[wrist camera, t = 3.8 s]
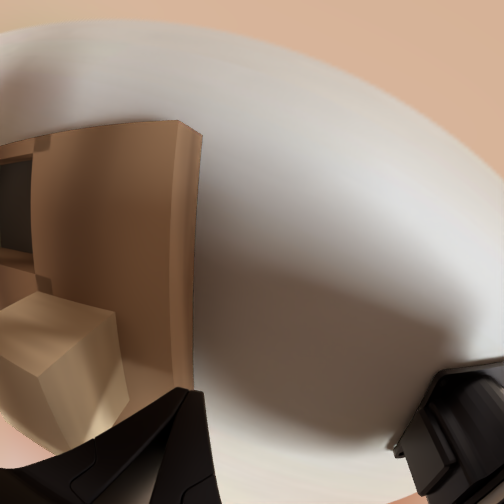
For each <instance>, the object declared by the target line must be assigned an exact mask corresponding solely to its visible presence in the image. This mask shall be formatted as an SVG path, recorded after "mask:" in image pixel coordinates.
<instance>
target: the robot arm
mask: <svg viewBox="0 0 504 504" xmlns="http://www.w3.org/2000/svg"><path fill="white" fill-rule="evenodd" d="M393 453H394V456H395V458H404V457H406V460H407V463H408V466H409V469H410V471H411V474H412V477H413V480H414V483H415V486H416V489H417V492H418V494H419V495H420V496H421V497H422V496H426V498H427V501H428V504H504V362H499V363H493V364H487V365H480V366H472V367H465V368H456V369H446V370H442V371H440V372H438V373H437V374H436V375H435V377H434V378H433V380H432V382H431V384H430V387H429V389H428V391H427V393H426V395H425V397H424V399H423V401H422V403H421V404H420V406H419V408H418V410H417V412H416V414H415V416H414V417H413V419H412V421H411V423H410V424H409V426H408V428H407V429H406V431H405V433H404V434H403V436H402V438H401V439H400V441H399V442H398V444H397V446H396V447H395V449H394V450H393ZM0 504H222V502H221V499H220V494H219V490H218V486H217V480H216V476H215V469H214V463H213V457H212V451H211V444H210V437H209V430H208V423H207V415H206V407H205V399H204V393H203V392H202V391H197V390H189V389H187V388H182V387H175V388H174V389H172V390H171V391H169V392H168V393H166V394H165V395H163V396H161V397H160V398H158V399H157V400H155V401H154V402H152V403H151V404H149V405H147V406H146V407H144V408H143V409H141V410H139V411H138V412H136V413H135V414H133V415H131V416H130V417H128V418H126V419H125V420H123V421H122V422H120V423H118V424H116V425H115V426H113V427H111V428H110V429H108V430H106V431H105V432H103V433H101V434H99V435H98V436H96V437H95V439H94V438H92V439H90V440H89V441H87V442H85V443H83V444H81V445H79V446H77V447H75V448H73V449H71V450H69V451H67V452H64V453H62V454H59V455H57V456H54V457H51V458H48V459H46V460H43V461H40V462H37V463H34V464H31V465H28V466H25V467H20V468H15V469H5V468H0Z"/></svg>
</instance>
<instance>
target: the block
mask: <svg viewBox="0 0 504 504" xmlns="http://www.w3.org/2000/svg"><path fill="white" fill-rule="evenodd" d="M128 402H129V395H128V391H127V386H126V381H125V376H124V370H123V365H122V359H121V353H120V346H119V339H118V332H117V324H116V315H115V312H113V311H109V310H105V309H101V308H97V307H93V306H89V305H85V304H81V303H77V302H74V301H70V300H66V299H63V298H59V297H56V296H53V295H49V294H46V293H43V292H39V291H37V292H35V293H33V294H31V295H29V296H27V297H25V298H23V299H21V300H19V301H17V302H15V303H13V304H12V305H10V306H8V307H6V308H4V309H2V310H0V412H1V414H2V416H3V418H4V419H5V421H6V422H7V423H8V424H10V425H11V426H12V427H14V428H15V429H16V430H18V431H19V432H21V433H22V434H23V435H25V436H26V437H28V438H29V439H31V440H32V441H34V442H35V443H37V444H38V445H40V446H41V447H43V448H44V449H46V450H48V451H49V452H51V453H53V454H54V455H56V456H57V455H59V454H62V453H64V452H67V451H69V450H71V449H73V448H75V447H77V446H79V445H81V444H83V443H85V442H87V441H89V440H90V439H92V438H94V439H95V437H96V436H98V435H99V434H101V433H103V432H105V431H106V430H108V429H110V428H111V427H112V426H113V424H114V423H115V421H116V420H117V418H118V417H119V415H120V414H121V412H122V411H123V409H124V408H125V406H126V405H127V403H128Z"/></svg>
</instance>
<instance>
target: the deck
mask: <svg viewBox="0 0 504 504" xmlns="http://www.w3.org/2000/svg"><path fill="white" fill-rule="evenodd" d="M202 136H203V135H201V134H200V133H198V132H197V131H195V130H194V129H192V128H190V127H189V126H187V125H186V124H184V123H182V122H181V121H179V120H168V121H148V122H134V123H123V124H113V125H104V126H96V127H89V128H82V129H76V130H69V131H64V132H58V133H53V134H48V135H43V136H38V137H34V138H30V139H25V140H21V141H17V142H13V143H10V144H6V145H2V146H0V310H2V309H4V308H6V307H8V306H10V305H12V304H13V303H15V302H17V301H19V300H21V299H23V298H25V297H27V296H29V295H31V294H33V293H35V292H37V291H39V292H43V293H46V294H49V295H53V296H56V297H59V298H63V299H66V300H70V301H74V302H77V303H81V304H85V305H89V306H93V307H97V308H101V309H105V310H109V311H113V312H115V315H116V324H117V332H118V339H119V346H120V353H121V359H122V365H123V370H124V376H125V381H126V386H127V391H128V395H129V402H128V403H127V405H126V406H125V408H124V409H123V411H122V412H121V414H120V415H119V417H118V418H117V420H116V421H115V423H114V424H113V426H115V425H116V424H118V423H120V422H122V421H123V420H125V419H126V418H128V417H130V416H131V415H133V414H135V413H136V412H138V411H139V410H141V409H143V408H144V407H146V406H147V405H149V404H151V403H152V402H154V401H155V400H157V399H158V398H160V397H161V396H163V395H165V394H166V393H168V392H169V391H171V390H172V389H174V388H175V387H182V388H187V389H189V390H194V381H193V274H194V246H195V226H196V209H197V194H198V181H199V168H200V157H201V146H202ZM113 426H112V427H113Z"/></svg>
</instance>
